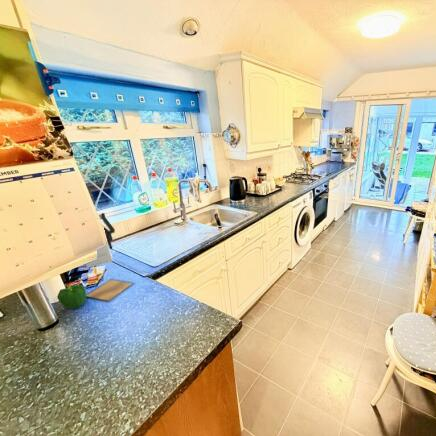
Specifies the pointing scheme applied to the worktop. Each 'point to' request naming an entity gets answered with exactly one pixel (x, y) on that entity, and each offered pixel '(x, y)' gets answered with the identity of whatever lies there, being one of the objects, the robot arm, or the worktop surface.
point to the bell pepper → (72, 296)
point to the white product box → (101, 256)
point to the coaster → (109, 290)
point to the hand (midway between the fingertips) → (96, 251)
